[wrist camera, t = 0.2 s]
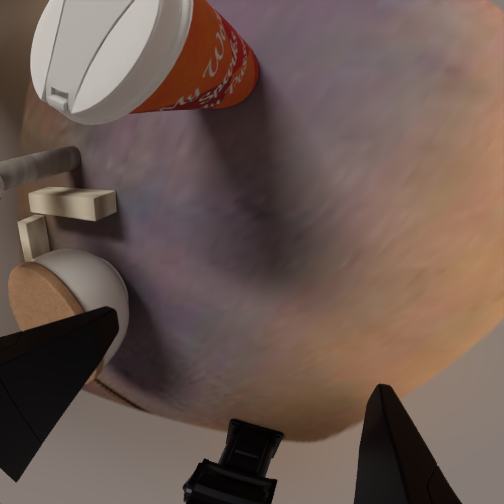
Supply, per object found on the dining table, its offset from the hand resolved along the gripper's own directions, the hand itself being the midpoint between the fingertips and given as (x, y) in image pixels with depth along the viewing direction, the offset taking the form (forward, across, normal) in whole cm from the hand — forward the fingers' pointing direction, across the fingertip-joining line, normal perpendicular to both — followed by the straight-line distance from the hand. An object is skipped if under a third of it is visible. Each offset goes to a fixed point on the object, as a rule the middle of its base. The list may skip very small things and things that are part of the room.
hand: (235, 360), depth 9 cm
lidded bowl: (+15, +19, +11) cm, 27 cm away
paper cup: (+15, +7, -10) cm, 20 cm away
